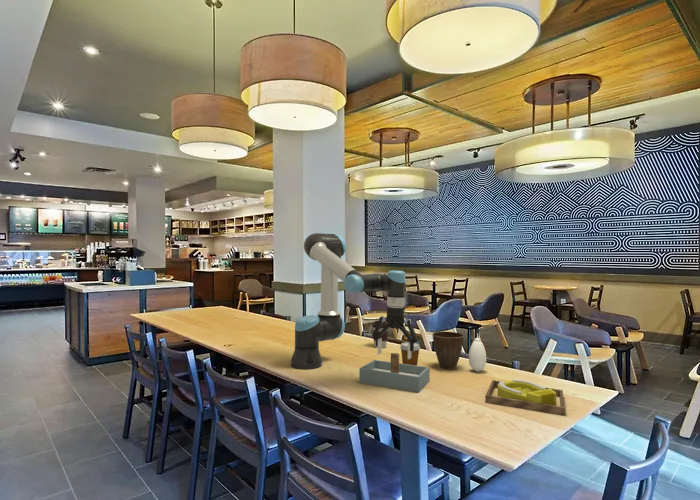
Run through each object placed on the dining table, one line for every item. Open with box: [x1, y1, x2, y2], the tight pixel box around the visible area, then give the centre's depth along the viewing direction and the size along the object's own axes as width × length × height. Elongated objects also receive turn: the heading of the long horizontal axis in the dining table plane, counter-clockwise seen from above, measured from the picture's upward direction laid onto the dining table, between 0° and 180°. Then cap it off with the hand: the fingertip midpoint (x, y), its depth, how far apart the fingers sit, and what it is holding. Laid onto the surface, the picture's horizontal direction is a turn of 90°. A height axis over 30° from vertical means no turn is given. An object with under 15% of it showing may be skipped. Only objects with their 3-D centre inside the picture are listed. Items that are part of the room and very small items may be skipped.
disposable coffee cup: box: [399, 341, 421, 366], centre depth 191 cm, size 10×10×12 cm
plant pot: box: [431, 331, 465, 370], centre depth 197 cm, size 15×15×16 cm
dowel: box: [390, 352, 400, 373], centre depth 173 cm, size 4×4×12 cm
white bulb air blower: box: [468, 333, 487, 373], centre depth 190 cm, size 8×8×18 cm
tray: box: [358, 359, 431, 393], centre depth 173 cm, size 26×16×6 cm, turn 64°
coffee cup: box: [371, 320, 389, 349], centre depth 238 cm, size 10×10×15 cm
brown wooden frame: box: [484, 379, 565, 416], centre depth 154 cm, size 26×21×2 cm
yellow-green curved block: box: [497, 378, 557, 406], centre depth 154 cm, size 16×21×5 cm
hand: (394, 356), depth 173 cm, fingers open, 13 cm apart
